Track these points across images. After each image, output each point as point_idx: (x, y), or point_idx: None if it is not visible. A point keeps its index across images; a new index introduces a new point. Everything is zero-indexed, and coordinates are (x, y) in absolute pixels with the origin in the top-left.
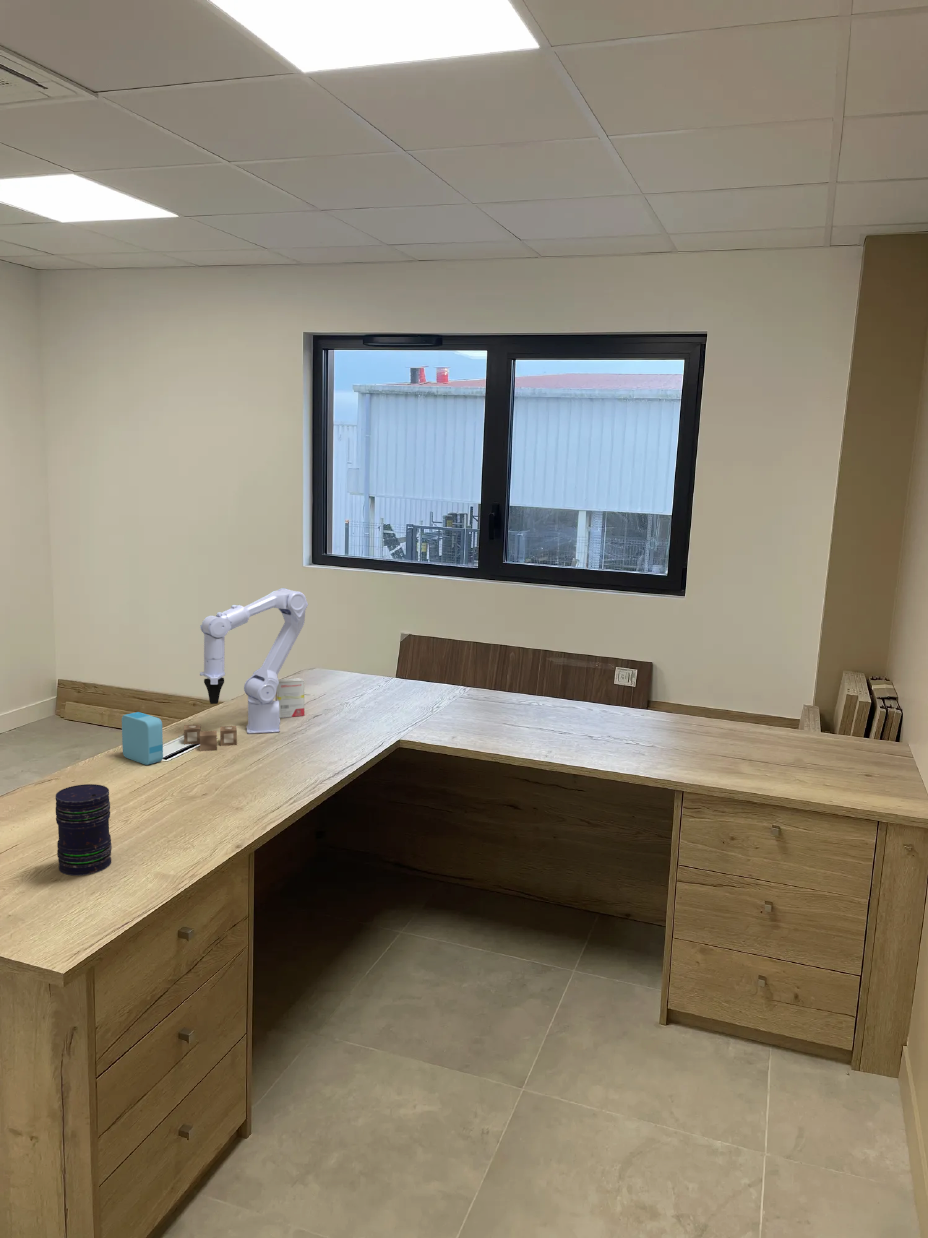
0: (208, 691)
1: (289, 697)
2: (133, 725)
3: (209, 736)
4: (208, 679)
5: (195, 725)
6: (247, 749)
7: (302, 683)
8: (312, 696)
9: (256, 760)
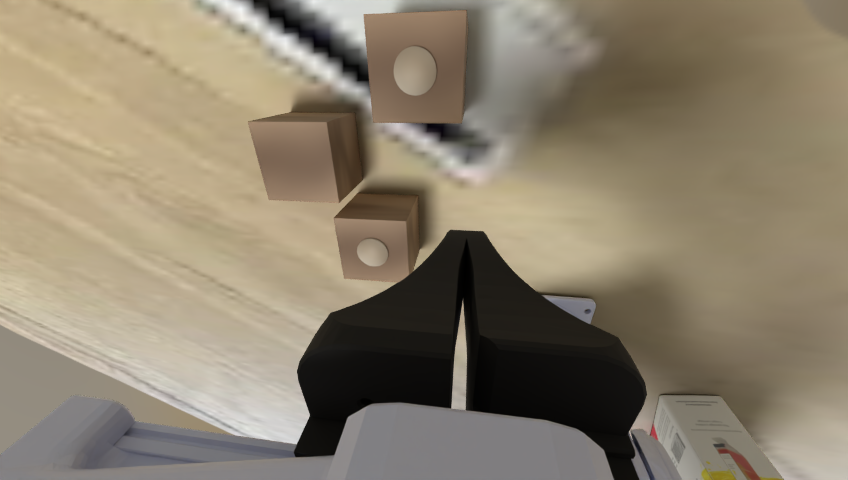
0: (403, 281)
1: None
2: None
3: (262, 167)
4: (543, 406)
5: (446, 91)
6: (317, 271)
7: None
8: None
9: (219, 281)
